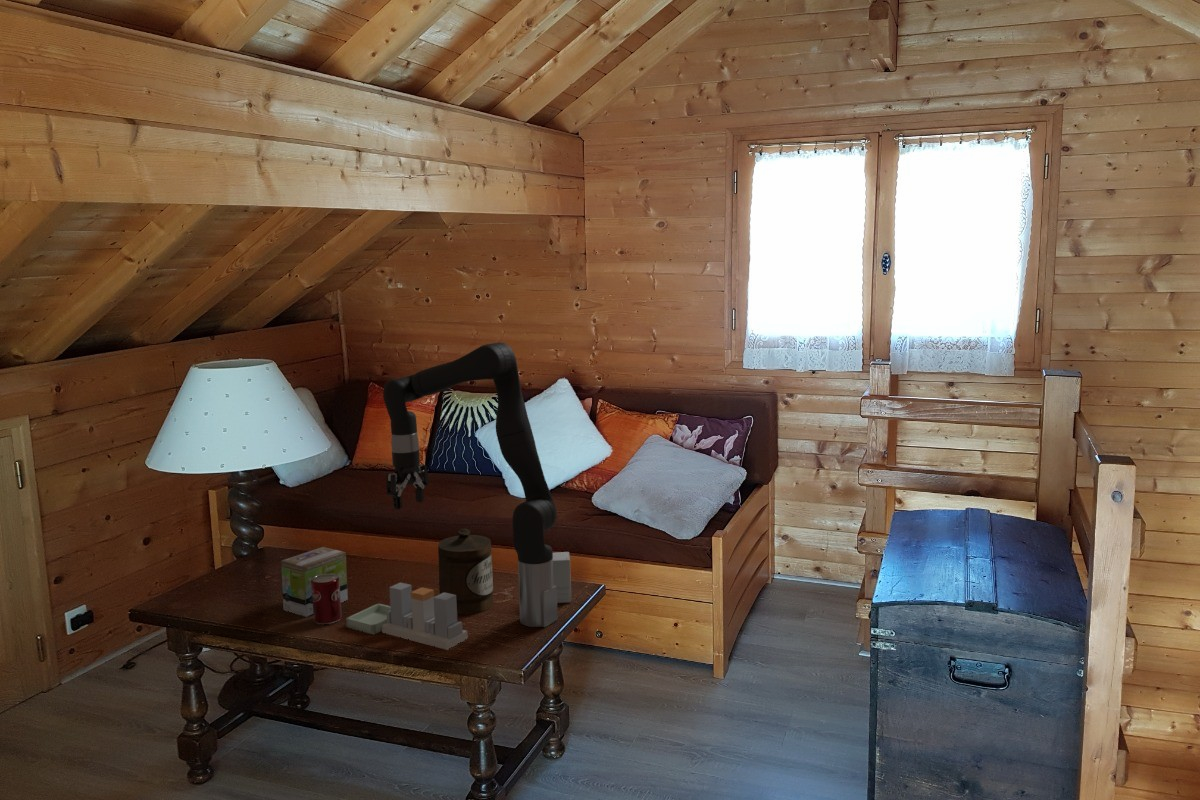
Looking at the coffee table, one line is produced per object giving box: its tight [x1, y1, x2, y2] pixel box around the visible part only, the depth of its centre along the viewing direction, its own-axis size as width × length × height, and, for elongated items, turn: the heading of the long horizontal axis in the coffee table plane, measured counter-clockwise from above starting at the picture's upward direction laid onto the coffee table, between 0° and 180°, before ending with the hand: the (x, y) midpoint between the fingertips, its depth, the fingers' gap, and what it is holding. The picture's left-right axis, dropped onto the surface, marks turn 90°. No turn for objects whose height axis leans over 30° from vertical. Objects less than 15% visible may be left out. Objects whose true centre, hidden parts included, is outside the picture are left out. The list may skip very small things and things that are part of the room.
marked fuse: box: [411, 587, 435, 632], centre depth 239 cm, size 4×4×10 cm
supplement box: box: [553, 551, 572, 604], centre depth 263 cm, size 7×7×13 cm
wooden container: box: [437, 528, 494, 615], centre depth 259 cm, size 15×15×22 cm
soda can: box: [311, 574, 343, 625], centre depth 251 cm, size 7×7×12 cm
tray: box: [345, 603, 391, 635], centre depth 249 cm, size 10×12×2 cm
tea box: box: [280, 546, 349, 618], centre depth 261 cm, size 15×10×15 cm
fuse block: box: [381, 582, 469, 651], centre depth 239 cm, size 22×8×12 cm, turn 59°
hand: (409, 505), depth 262 cm, fingers open, 8 cm apart
